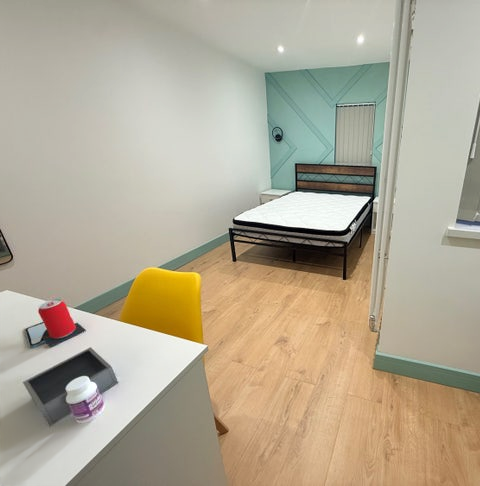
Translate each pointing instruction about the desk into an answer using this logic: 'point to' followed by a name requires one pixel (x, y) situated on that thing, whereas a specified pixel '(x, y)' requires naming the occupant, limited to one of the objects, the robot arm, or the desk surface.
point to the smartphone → (36, 334)
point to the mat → (55, 341)
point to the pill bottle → (84, 399)
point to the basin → (59, 376)
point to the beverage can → (56, 318)
